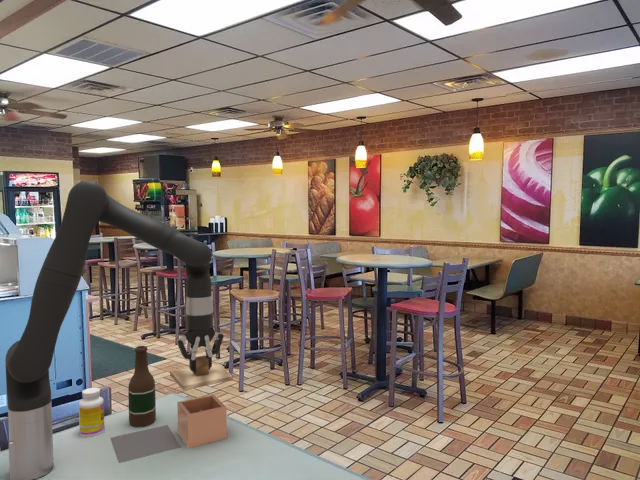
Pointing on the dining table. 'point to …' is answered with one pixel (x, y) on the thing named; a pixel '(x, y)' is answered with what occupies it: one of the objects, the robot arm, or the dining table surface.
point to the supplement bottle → (91, 413)
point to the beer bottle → (141, 392)
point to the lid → (200, 375)
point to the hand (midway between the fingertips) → (200, 370)
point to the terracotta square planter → (202, 420)
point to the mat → (144, 443)
